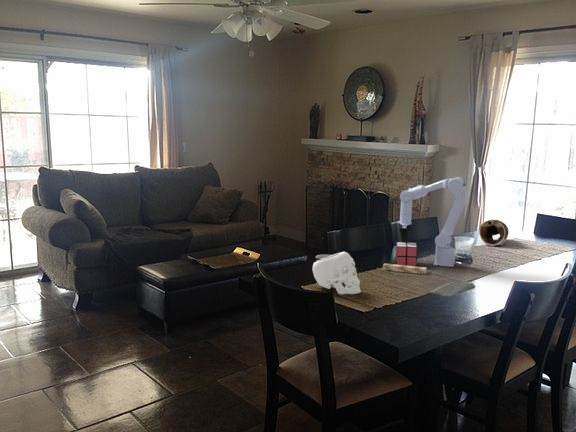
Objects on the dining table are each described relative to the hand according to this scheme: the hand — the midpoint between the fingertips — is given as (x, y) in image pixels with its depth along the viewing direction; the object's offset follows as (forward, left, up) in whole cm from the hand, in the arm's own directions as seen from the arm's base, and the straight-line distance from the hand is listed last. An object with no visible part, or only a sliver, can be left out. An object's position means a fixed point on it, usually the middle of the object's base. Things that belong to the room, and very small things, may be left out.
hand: (404, 239), depth 267 cm
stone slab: (-29, +44, -11) cm, 53 cm away
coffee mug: (+25, +47, -11) cm, 55 cm away
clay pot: (-43, -63, -11) cm, 77 cm away
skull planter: (+16, +63, -11) cm, 65 cm away
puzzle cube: (-3, +8, -11) cm, 14 cm away
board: (-5, +23, -11) cm, 26 cm away
